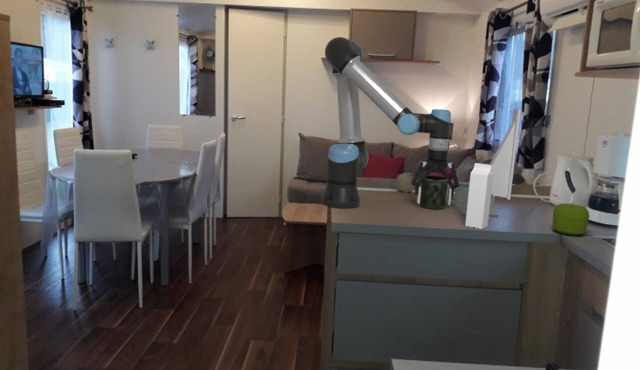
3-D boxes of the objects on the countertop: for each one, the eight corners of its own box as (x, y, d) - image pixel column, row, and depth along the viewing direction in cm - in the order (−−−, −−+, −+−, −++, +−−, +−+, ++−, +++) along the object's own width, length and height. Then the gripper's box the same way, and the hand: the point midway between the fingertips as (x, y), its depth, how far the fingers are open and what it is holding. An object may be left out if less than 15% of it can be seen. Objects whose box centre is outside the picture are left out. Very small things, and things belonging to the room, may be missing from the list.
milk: (471, 223, 189) (477, 162, 185) (488, 226, 186) (494, 164, 182) (464, 226, 184) (471, 163, 181) (481, 229, 181) (488, 165, 177)
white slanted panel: (475, 189, 259) (483, 106, 252) (505, 191, 256) (515, 108, 248) (476, 196, 240) (486, 107, 233) (510, 199, 237) (520, 109, 229)
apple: (555, 236, 177) (559, 204, 175) (547, 228, 188) (551, 198, 186) (590, 239, 175) (595, 207, 174) (580, 231, 186) (585, 200, 184)
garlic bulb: (413, 197, 243) (422, 178, 240) (403, 196, 236) (413, 176, 234) (397, 187, 249) (406, 168, 246) (387, 186, 242) (397, 167, 240)
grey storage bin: (463, 215, 200) (466, 193, 199) (448, 202, 224) (450, 181, 222) (497, 217, 200) (500, 194, 199) (479, 203, 224) (481, 183, 222)
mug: (444, 205, 218) (447, 176, 216) (448, 213, 203) (451, 182, 201) (417, 203, 219) (420, 174, 217) (420, 210, 205) (422, 180, 202)
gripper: (409, 148, 203) (404, 204, 207) (471, 151, 203) (465, 207, 207) (406, 146, 211) (402, 200, 214) (465, 149, 211) (460, 203, 215)
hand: (433, 203), depth 211 cm, fingers open, 11 cm apart
